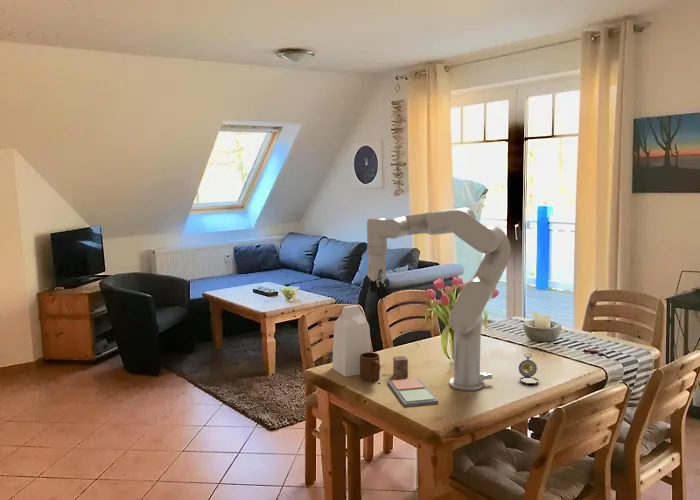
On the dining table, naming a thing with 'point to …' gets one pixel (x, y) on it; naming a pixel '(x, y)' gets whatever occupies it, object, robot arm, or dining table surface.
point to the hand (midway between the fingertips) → (377, 294)
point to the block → (400, 367)
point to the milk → (350, 341)
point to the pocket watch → (527, 369)
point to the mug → (369, 367)
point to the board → (412, 392)
